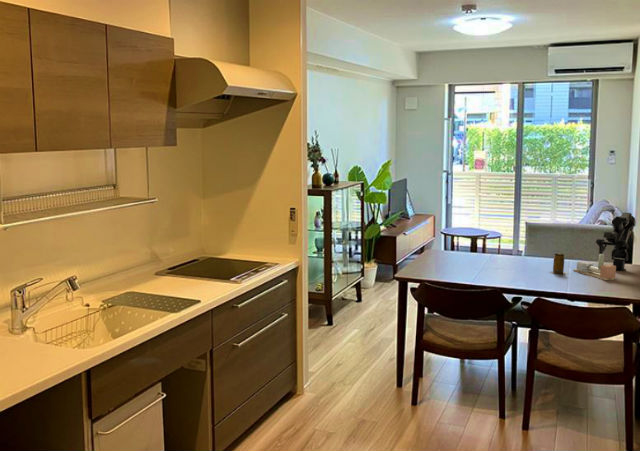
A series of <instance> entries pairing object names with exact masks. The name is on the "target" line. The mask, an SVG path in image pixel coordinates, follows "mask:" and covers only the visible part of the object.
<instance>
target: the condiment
mask: <svg viewBox="0 0 640 451" xmlns="http://www.w3.org/2000/svg"><path fill="white" fill-rule="evenodd" d="M552 264H553V266H552V271H550V273H551V274H557V275H561V276H562V275H563V276H565V275H569V273H568V272H564V271H565V268H564V267H565V253H563V252H562V253H559V252H556V253H554V258H553V263H552Z"/></svg>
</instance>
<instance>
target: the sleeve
mask: <svg viewBox="0 0 640 451" xmlns="http://www.w3.org/2000/svg"><path fill="white" fill-rule="evenodd" d="M588 265H590V266H594V263H591V262H587V261H583V260H582V261H577V262H576V269H577V270H579V271H583V272H586V273H587V272H592V271H588V270H587V267H588Z"/></svg>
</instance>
